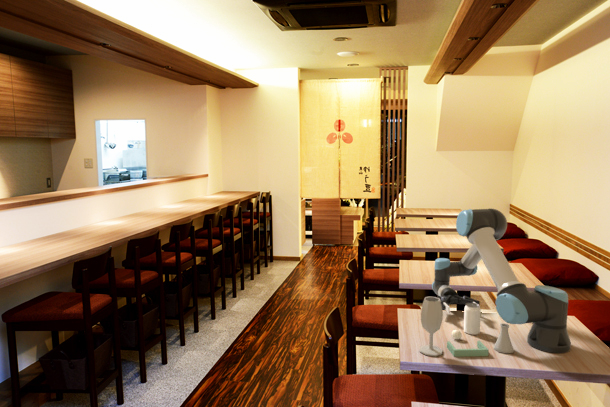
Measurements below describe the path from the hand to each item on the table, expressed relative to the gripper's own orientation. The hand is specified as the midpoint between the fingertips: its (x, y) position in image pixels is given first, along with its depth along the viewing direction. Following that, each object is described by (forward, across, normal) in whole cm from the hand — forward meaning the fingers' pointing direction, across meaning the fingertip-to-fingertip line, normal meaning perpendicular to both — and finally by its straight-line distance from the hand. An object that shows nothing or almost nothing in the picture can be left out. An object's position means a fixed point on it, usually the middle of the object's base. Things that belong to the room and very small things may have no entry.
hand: (464, 309), depth 198 cm
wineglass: (+27, +23, -7) cm, 36 cm away
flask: (+26, -6, -7) cm, 28 cm away
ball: (+16, +9, -4) cm, 19 cm away
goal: (+27, +9, -6) cm, 29 cm away
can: (+9, 0, -7) cm, 11 cm away
